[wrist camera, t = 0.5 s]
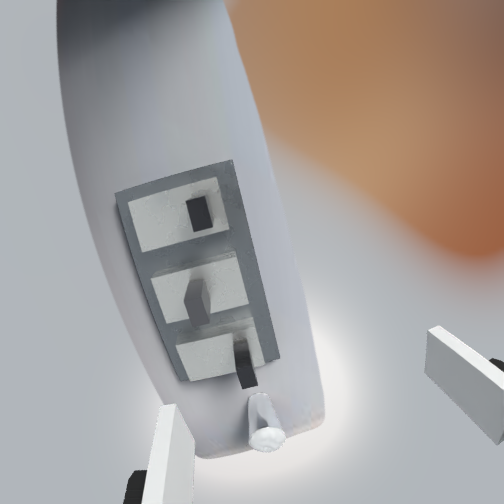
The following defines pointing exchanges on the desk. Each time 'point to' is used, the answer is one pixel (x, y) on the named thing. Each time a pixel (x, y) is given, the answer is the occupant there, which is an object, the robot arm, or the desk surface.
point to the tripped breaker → (197, 303)
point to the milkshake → (264, 424)
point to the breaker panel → (201, 251)
